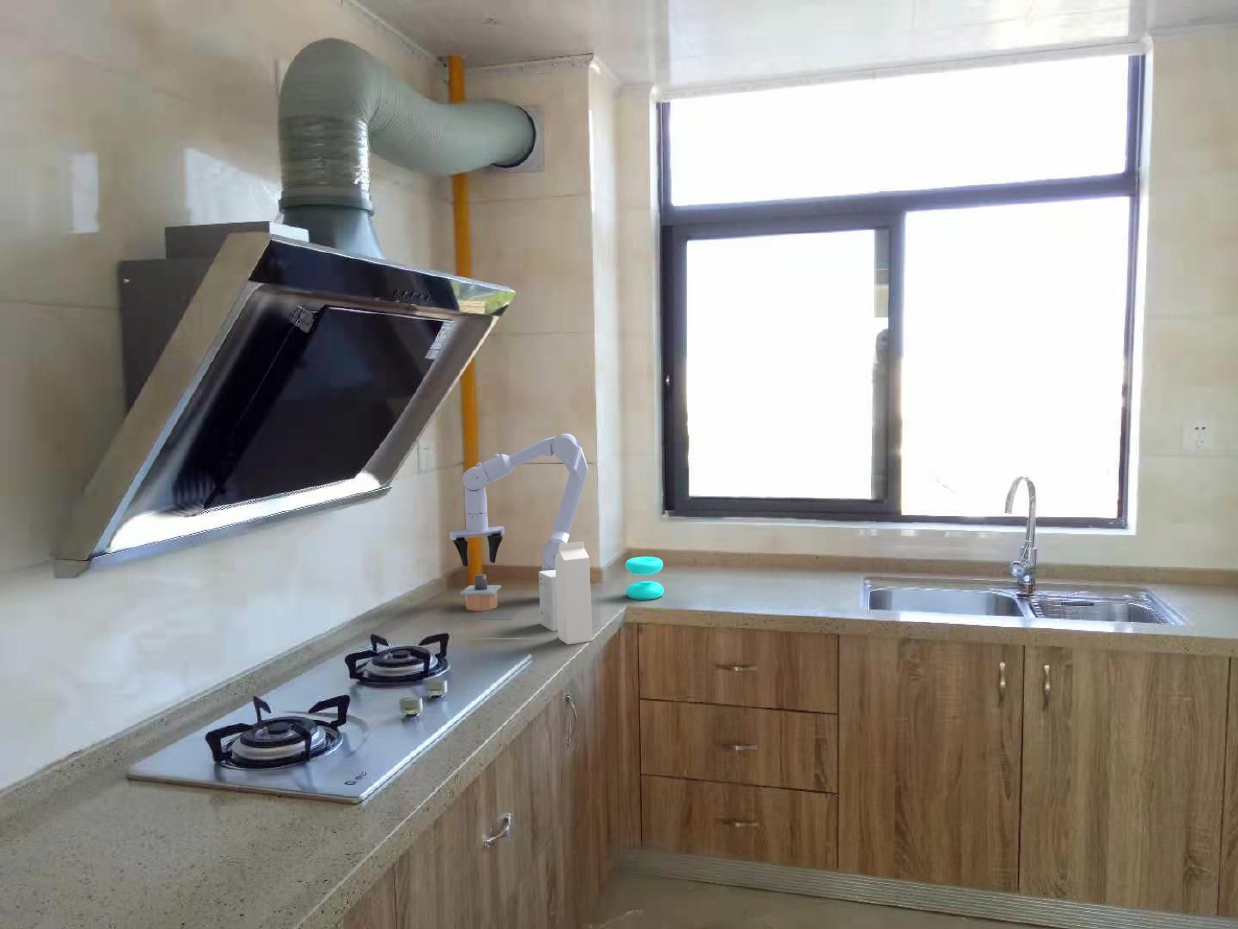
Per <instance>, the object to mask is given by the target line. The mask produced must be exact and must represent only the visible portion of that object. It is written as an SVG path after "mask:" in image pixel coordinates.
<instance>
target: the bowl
mask: <svg viewBox="0 0 1238 929" xmlns="http://www.w3.org/2000/svg"><path fill="white" fill-rule="evenodd" d="M464 596H465V597H464V598H465V609H466V610H468V611H473V612H475V611H477V612H478V611H479V612H481V611H491V610H492V609H493V610H494V609H495V608H497V607H498V591H496V592H495V593H494V594H493V595H464Z"/></svg>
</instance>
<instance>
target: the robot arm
mask: <svg viewBox="0 0 1238 929" xmlns="http://www.w3.org/2000/svg"><path fill="white" fill-rule="evenodd" d="M584 454H585V453H584V452H583V448H582V445H581V443H580V442H579V441H578V439H577V438H576V436H574V435H573V434H572V433H569V432H564V433H560V434H558V435H557V436H551V437H548V438H544V439H542V440H539V441H537V442H535V443H533V444H531V445H529V446H527V447H525V448H523V449H521V450H519V451H517V452H515V453H513V454H511V455H508V454H504V453H501V454H499V453H496V454H494V455H492V456H493V457H492V458H490V459H488V460H486V461H484V462H480V461H479V462H478V463H476V466H473V467H470V468H469V469H467V470H465V471H464V473H463V475H462V484H463V486H464V510H465V512H464V513H465V529H460V530H455V531H449V539H450V540H451V541H452V542H453V544H454V546H455V547H456V550H457V551H458V554H459V557H460V559H461V564H462V567H468V566H469V565H468V564H469V562H468V561H469V560H468V547H469V546H468V545H469V544H468V543H469V542H468V541H467V540H466V539H469V538H471V539H472V538H478V537H486V538H487V542H488V549H489V550H488V551H489V552H488V554H489V555H488V556H489V562H490V563H492V564H494V563H496V559H497V554H498V550H499V548H500V545H501V542H502V541H503V535H506V534H505V532H506V531H505V526H502V525H501V526H489V520H488V519H489V518H488V500H487V499H488V498H487V497H488V495H487V492H486V489H487V488H486V485H487V484H491V483H494V482H497V481H498V480H500V479H504V478H505V477H507V476H509V475H511V474H512V473H513V471H514V468H515V467H517V466H519V465H522V464H524V463H526V462H528V461H531V460H533V459H535V458H537V457H540V456H545V457H552V456H553V455H554V456H555V457H556V458H557V459H558V460H560V461H561V462H562V463H563V464H564V466H565V467H566V469H567V471H568V472H569V474H568V478H567V482H566V485H565V489H564V492H563V494H562V495H563V496H562V499H561V502H560V506H559V509H558V512H557V517H556V519H555V523H554V526H553V530H552V533H551V537H550V539H549V540H548V542H547V543H546V544H545V546H544V548H543V551H542V553H541V554H542V555H541V557H542V562H543V564H542V565H541V571H548V570H556V569H555V555H556V554H557V553H558V551H559V544H563V543H568V540H569V537H570V534H571V530H572V526H573V522H574V520H575V516H576V514H577V509H578V507H579V503H580V499H581V496H582V493H583V490H584V485H585V483H586V478H587V476H588V472H589V467H588V466H589V465H588V462H587V460H586V457H585V455H584ZM539 603H540V600H539Z"/></svg>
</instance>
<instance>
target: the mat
mask: <svg viewBox="0 0 1238 929" xmlns="http://www.w3.org/2000/svg"><path fill="white" fill-rule="evenodd" d="M519 612H520V610H483V612H481V614H479V615H478V616H477V617H475V619H474V620H476V621H477V620H478V621H503V620H504V621H510V620H512V619H513V618H514V617H515V616H516V615H517V614H518V613H519Z"/></svg>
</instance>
